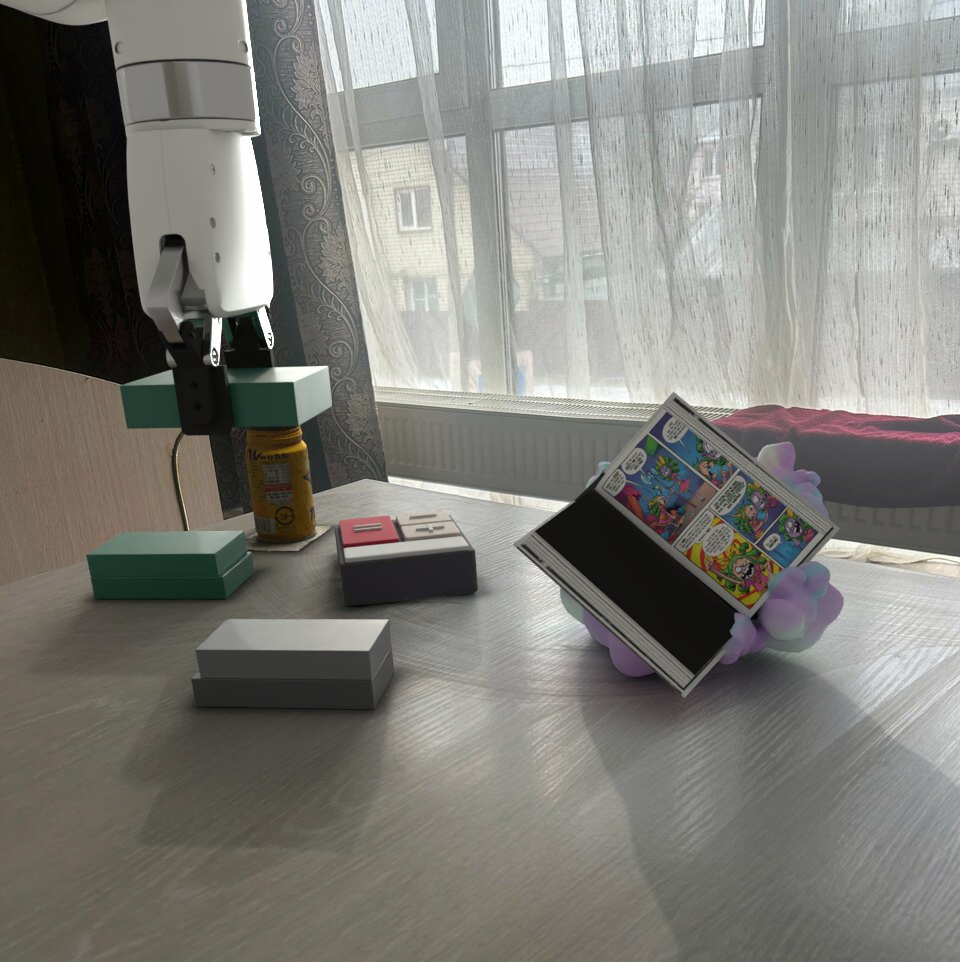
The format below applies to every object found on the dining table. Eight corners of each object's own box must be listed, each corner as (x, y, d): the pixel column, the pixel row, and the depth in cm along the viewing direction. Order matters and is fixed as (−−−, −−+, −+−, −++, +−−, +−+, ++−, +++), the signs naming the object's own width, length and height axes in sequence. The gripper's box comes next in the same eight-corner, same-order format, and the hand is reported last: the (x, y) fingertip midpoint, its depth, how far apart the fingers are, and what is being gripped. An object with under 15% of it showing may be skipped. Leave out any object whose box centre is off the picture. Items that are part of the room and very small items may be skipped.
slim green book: (126, 428, 61) (119, 385, 60) (176, 409, 68) (170, 369, 67) (298, 426, 60) (293, 381, 59) (332, 406, 66) (328, 365, 65)
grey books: (195, 706, 65) (185, 650, 64) (228, 671, 70) (219, 618, 69) (374, 709, 63) (368, 651, 62) (394, 673, 68) (389, 618, 67)
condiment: (332, 528, 104) (318, 410, 99) (298, 552, 96) (281, 427, 91) (268, 526, 105) (252, 411, 101) (229, 550, 98) (210, 427, 93)
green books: (94, 599, 86) (85, 555, 85) (132, 573, 93) (123, 531, 91) (226, 599, 85) (218, 553, 83) (255, 572, 91) (248, 530, 89)
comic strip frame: (782, 519, 81) (676, 332, 73) (970, 591, 61) (851, 345, 54) (583, 674, 80) (458, 501, 73) (707, 796, 61) (553, 576, 54)
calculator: (449, 505, 95) (475, 541, 81) (452, 549, 96) (479, 592, 82) (333, 517, 93) (338, 555, 79) (338, 561, 95) (344, 607, 81)
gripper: (192, 125, 66) (230, 401, 72) (46, 95, 50) (112, 452, 56) (302, 118, 64) (330, 399, 71) (188, 85, 48) (238, 450, 55)
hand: (233, 420), depth 64 cm, fingers closed on slim green book, 7 cm apart
